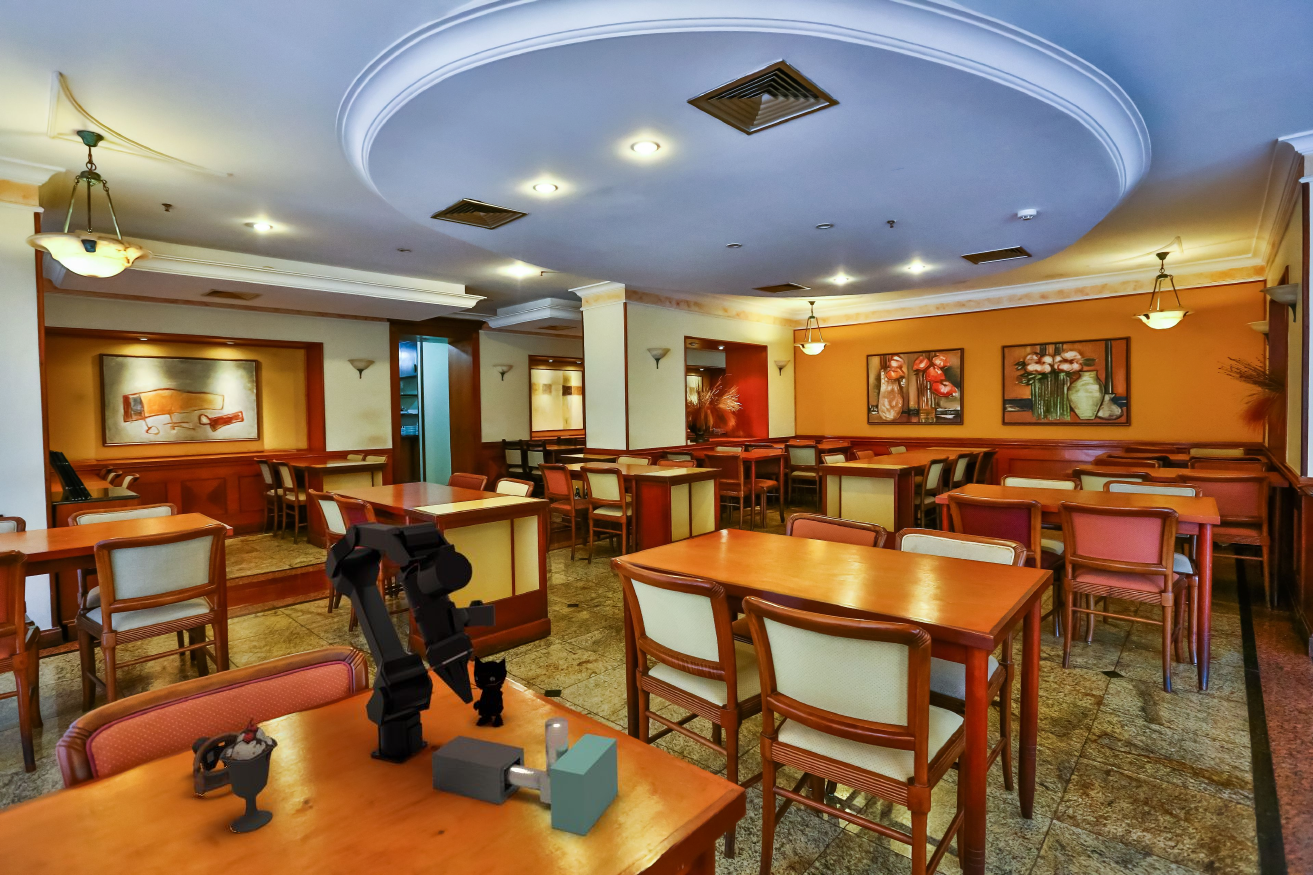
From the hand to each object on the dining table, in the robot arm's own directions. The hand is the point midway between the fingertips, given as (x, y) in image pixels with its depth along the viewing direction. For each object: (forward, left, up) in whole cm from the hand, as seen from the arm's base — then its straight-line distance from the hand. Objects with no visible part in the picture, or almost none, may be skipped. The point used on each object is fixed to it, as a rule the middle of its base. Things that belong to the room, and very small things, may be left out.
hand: (467, 698), depth 98 cm
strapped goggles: (-36, -13, -12) cm, 40 cm away
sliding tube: (+12, -1, -11) cm, 16 cm away
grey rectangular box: (+3, -1, -12) cm, 13 cm away
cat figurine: (-8, +17, -12) cm, 22 cm away
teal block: (+21, -1, -12) cm, 24 cm away
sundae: (-21, -19, -12) cm, 31 cm away
